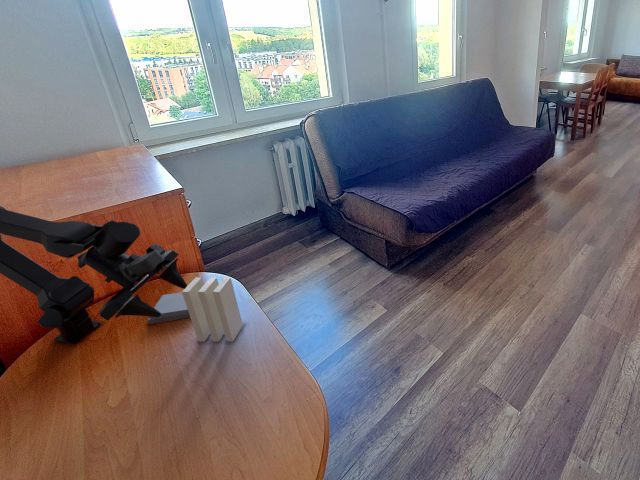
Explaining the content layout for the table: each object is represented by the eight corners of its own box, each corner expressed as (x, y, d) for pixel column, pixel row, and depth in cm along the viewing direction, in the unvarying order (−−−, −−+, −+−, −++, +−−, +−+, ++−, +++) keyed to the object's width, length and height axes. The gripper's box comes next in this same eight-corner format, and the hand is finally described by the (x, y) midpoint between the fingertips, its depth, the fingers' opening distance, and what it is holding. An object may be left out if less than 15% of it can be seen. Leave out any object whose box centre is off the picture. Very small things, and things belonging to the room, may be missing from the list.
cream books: (212, 341, 84) (197, 291, 78) (224, 325, 89) (210, 277, 83) (232, 341, 84) (219, 292, 78) (243, 325, 89) (230, 277, 83)
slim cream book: (198, 341, 84) (181, 291, 78) (210, 325, 89) (195, 277, 83) (204, 341, 84) (188, 291, 78) (216, 325, 89) (202, 277, 83)
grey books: (148, 324, 89) (145, 316, 88) (163, 302, 96) (160, 295, 95) (194, 316, 91) (192, 309, 90) (205, 295, 99) (203, 289, 98)
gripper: (94, 271, 68) (162, 313, 72) (162, 222, 85) (214, 258, 89) (70, 301, 71) (137, 339, 75) (140, 247, 88) (192, 281, 92)
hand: (174, 300), depth 83 cm, fingers open, 9 cm apart
